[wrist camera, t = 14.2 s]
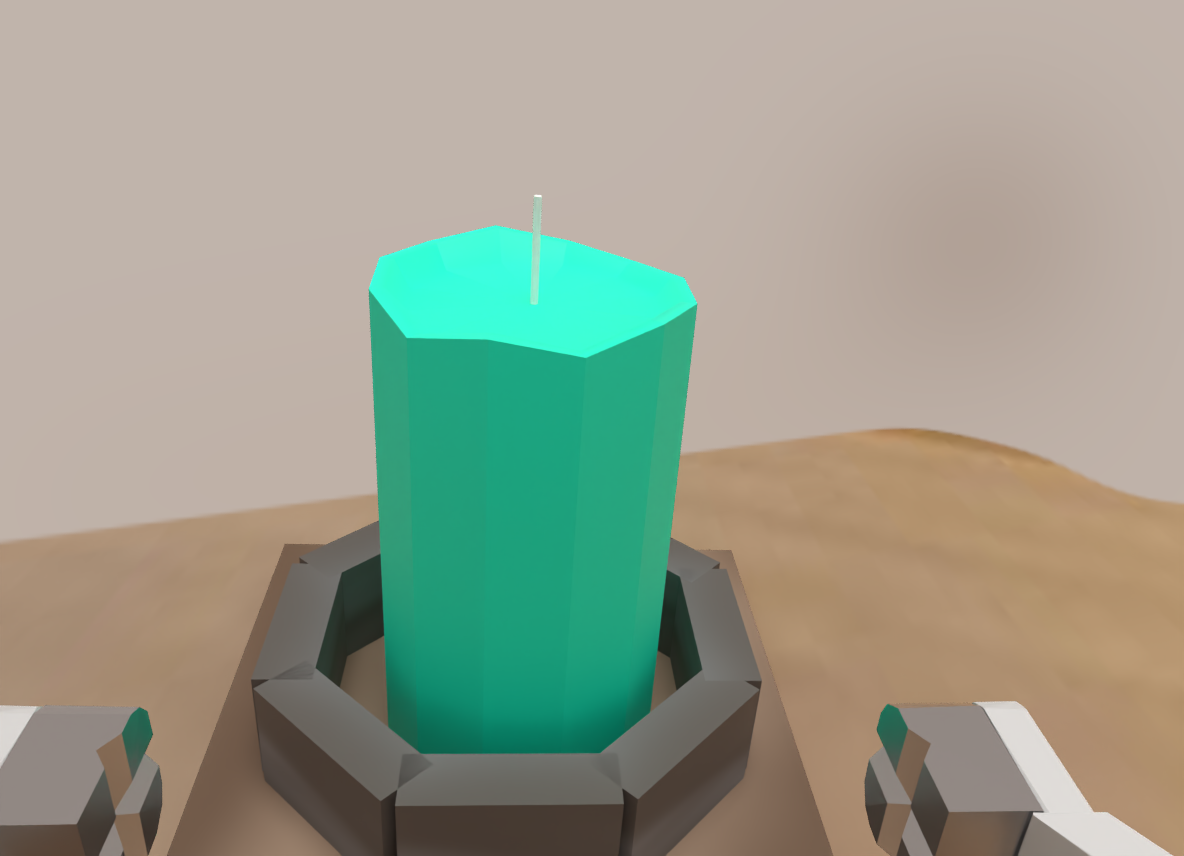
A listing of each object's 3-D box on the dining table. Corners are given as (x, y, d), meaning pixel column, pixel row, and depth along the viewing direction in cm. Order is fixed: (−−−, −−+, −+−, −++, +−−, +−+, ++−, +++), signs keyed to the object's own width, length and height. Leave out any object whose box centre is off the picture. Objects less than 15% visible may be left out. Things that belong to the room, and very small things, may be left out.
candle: (370, 651, 24) (344, 159, 19) (599, 613, 26) (635, 157, 21) (411, 845, 19) (392, 253, 14) (690, 781, 21) (769, 238, 16)
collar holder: (131, 1011, 17) (96, 873, 16) (287, 572, 29) (277, 468, 27) (857, 993, 18) (895, 863, 17) (726, 578, 30) (742, 477, 28)
